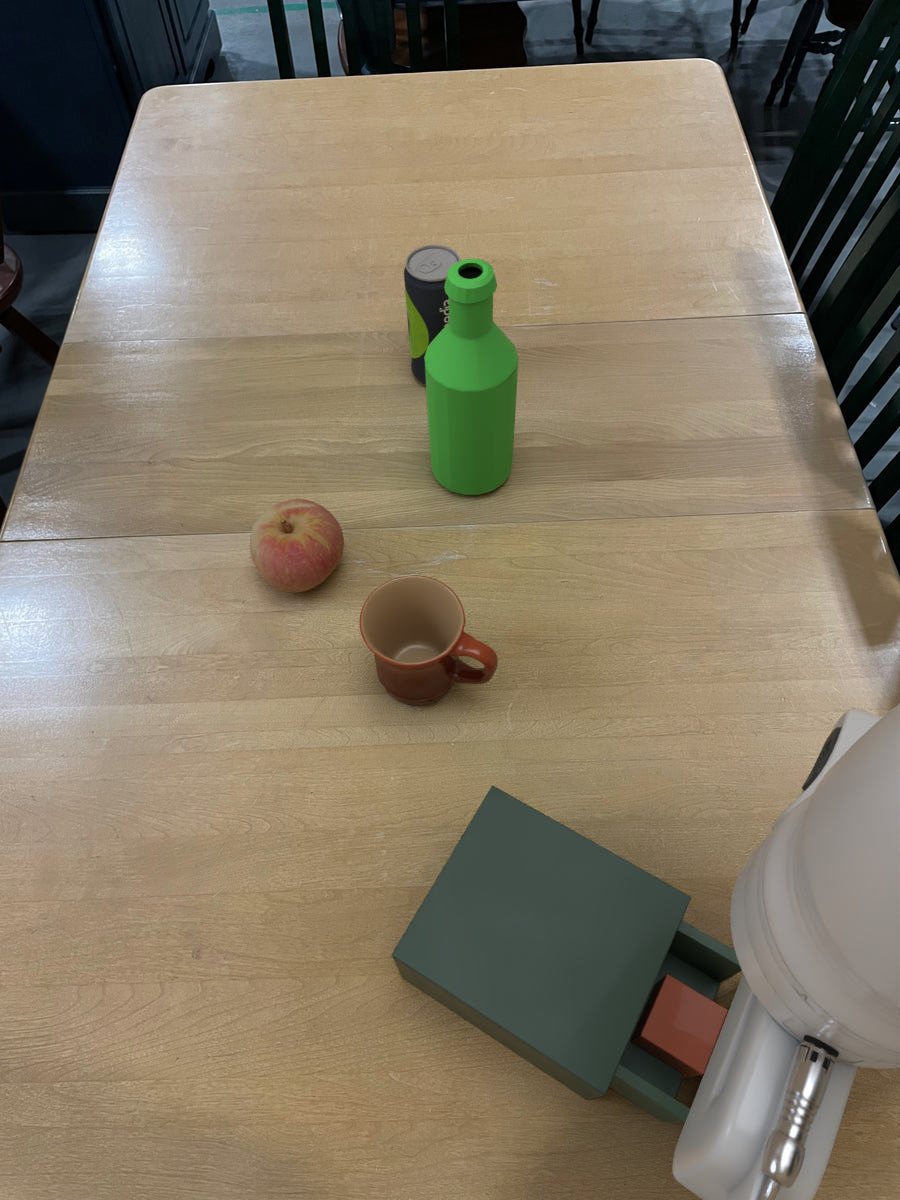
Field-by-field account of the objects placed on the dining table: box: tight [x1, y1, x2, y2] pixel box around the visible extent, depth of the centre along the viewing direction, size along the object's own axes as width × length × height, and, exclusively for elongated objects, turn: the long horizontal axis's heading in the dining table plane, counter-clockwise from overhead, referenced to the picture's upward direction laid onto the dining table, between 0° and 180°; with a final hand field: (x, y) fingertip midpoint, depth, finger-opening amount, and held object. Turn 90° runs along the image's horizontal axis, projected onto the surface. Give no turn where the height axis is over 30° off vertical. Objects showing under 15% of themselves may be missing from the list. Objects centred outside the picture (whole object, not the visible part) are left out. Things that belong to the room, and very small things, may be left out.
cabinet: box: [391, 785, 692, 1101], centre depth 62 cm, size 16×14×10 cm
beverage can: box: [403, 244, 462, 385], centre depth 94 cm, size 6×6×15 cm
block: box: [630, 974, 729, 1079], centre depth 59 cm, size 4×4×4 cm
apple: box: [249, 498, 345, 593], centre depth 82 cm, size 9×9×8 cm
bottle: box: [424, 258, 519, 496], centre depth 82 cm, size 9×9×25 cm
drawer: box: [608, 919, 742, 1123], centre depth 59 cm, size 20×13×8 cm, turn 59°
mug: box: [359, 574, 499, 707], centre depth 74 cm, size 12×9×10 cm
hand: (760, 985), depth 42 cm, fingers open, 8 cm apart
